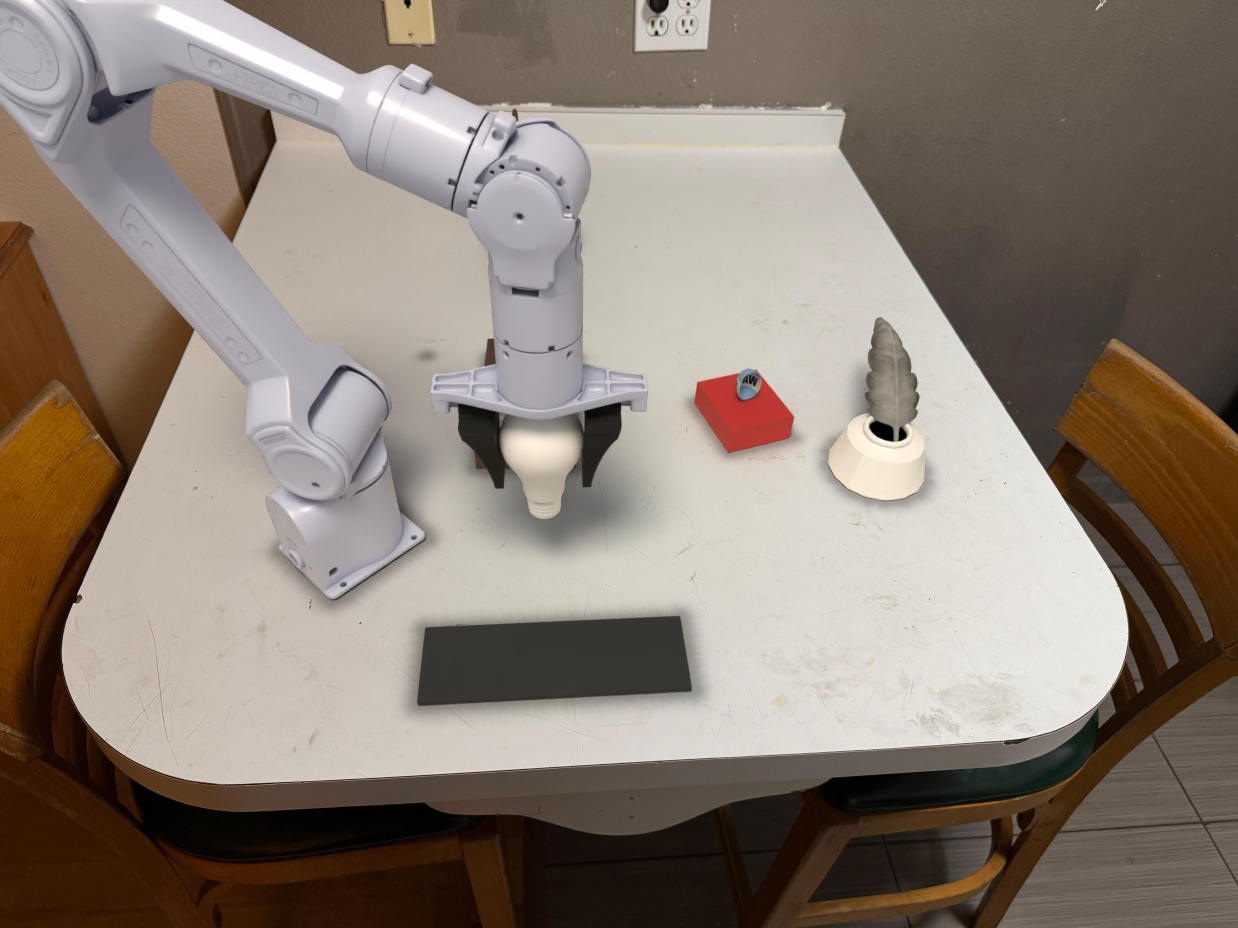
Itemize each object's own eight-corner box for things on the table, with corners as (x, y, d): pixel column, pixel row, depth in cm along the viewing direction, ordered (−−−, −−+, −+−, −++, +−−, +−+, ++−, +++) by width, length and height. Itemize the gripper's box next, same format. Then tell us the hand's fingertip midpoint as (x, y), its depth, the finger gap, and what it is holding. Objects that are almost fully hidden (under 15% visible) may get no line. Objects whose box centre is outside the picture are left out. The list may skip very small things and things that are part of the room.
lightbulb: (494, 499, 65) (483, 391, 57) (565, 477, 67) (564, 370, 59) (522, 553, 61) (514, 444, 53) (596, 528, 63) (598, 420, 56)
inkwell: (834, 499, 75) (860, 417, 69) (809, 380, 88) (828, 301, 82) (934, 504, 75) (970, 423, 69) (894, 384, 88) (920, 306, 82)
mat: (417, 705, 59) (416, 702, 58) (425, 630, 63) (424, 626, 63) (691, 691, 60) (691, 687, 60) (679, 619, 65) (680, 615, 65)
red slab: (694, 403, 85) (700, 353, 81) (752, 390, 87) (761, 341, 82) (728, 452, 80) (737, 402, 75) (789, 438, 81) (801, 388, 77)
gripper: (646, 293, 55) (636, 442, 65) (429, 293, 54) (451, 444, 64) (655, 355, 50) (643, 506, 60) (416, 356, 49) (442, 509, 59)
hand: (544, 478), depth 61 cm, fingers closed on lightbulb, 6 cm apart
